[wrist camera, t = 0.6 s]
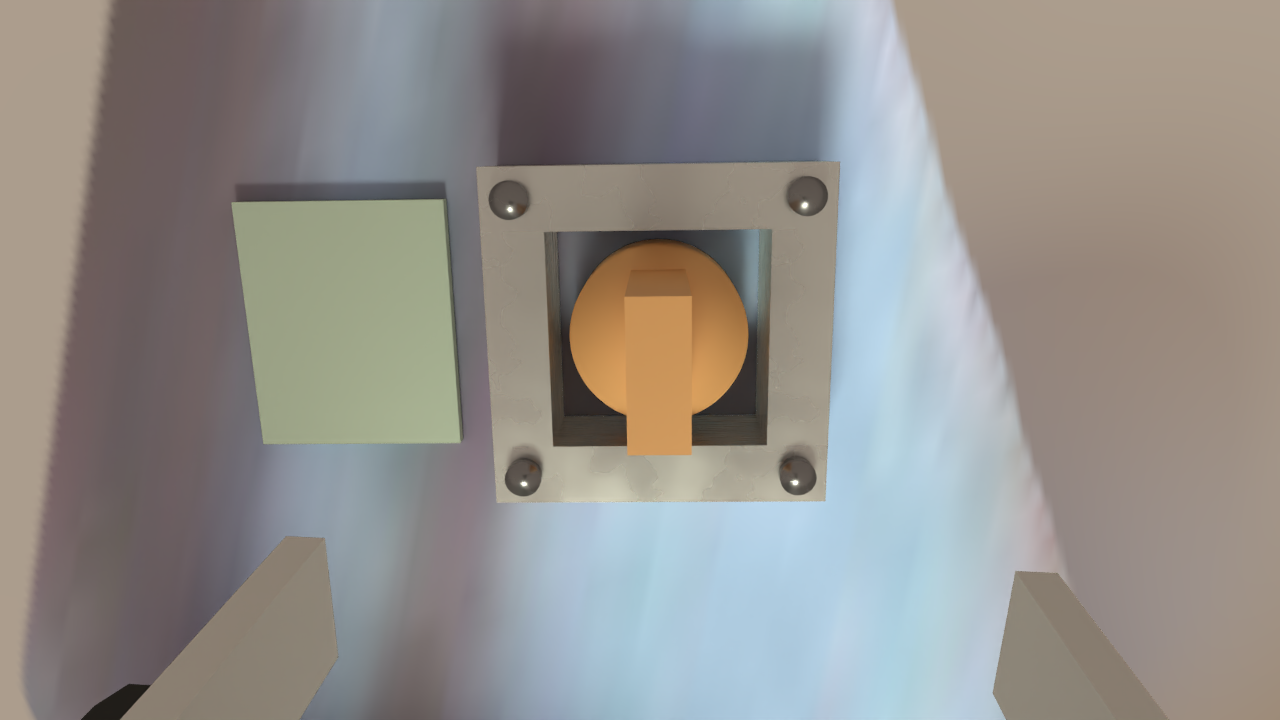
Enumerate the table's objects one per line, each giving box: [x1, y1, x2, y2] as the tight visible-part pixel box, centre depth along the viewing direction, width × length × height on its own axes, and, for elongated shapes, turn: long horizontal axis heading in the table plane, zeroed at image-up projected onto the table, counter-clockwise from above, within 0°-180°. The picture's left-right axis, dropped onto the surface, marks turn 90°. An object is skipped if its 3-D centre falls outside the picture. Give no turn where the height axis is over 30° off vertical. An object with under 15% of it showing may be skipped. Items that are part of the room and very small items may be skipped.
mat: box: [231, 199, 463, 444], centre depth 40 cm, size 12×10×1 cm
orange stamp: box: [570, 239, 748, 455], centre depth 35 cm, size 8×8×10 cm
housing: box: [476, 161, 840, 503], centre depth 38 cm, size 15×15×5 cm
